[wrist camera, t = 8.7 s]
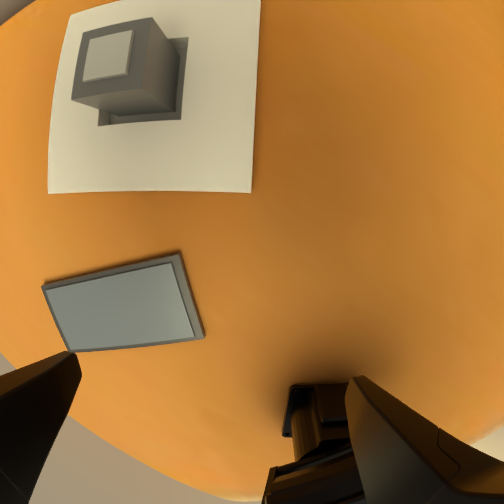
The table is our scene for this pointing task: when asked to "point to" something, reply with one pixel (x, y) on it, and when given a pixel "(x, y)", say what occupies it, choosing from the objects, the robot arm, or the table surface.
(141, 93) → the block
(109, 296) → the phone
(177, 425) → the table surface
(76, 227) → the table surface
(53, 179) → the outlet plate
